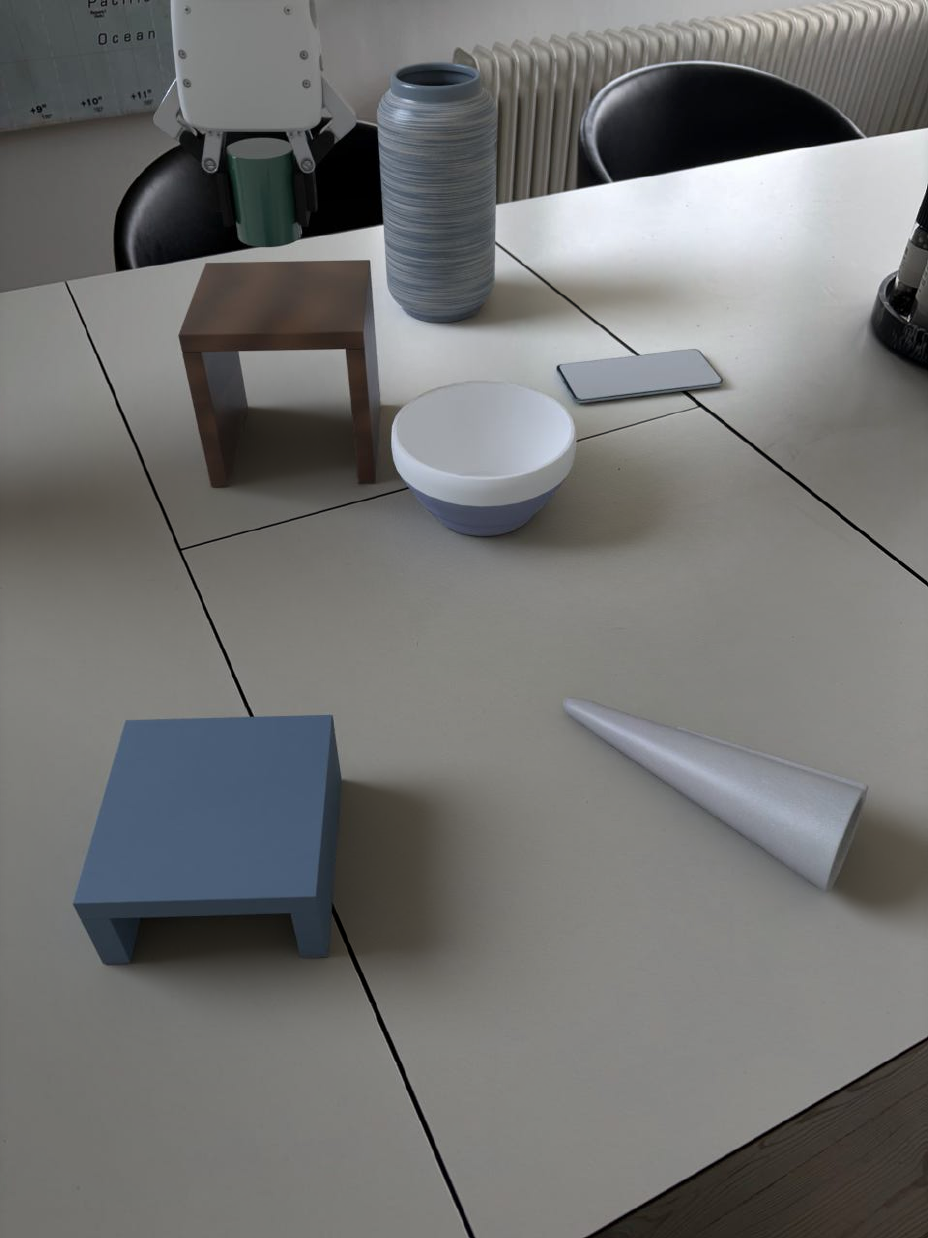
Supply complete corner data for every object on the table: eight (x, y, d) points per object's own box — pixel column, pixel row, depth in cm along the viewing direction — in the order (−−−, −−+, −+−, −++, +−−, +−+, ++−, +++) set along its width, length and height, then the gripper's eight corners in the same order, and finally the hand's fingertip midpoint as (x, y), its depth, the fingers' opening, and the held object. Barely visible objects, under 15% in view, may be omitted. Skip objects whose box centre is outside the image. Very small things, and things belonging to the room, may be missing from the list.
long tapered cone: (520, 714, 61) (839, 840, 52) (571, 661, 65) (873, 768, 56) (519, 784, 64) (820, 914, 55) (568, 729, 68) (854, 841, 59)
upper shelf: (210, 487, 85) (177, 334, 76) (232, 406, 95) (205, 262, 85) (375, 483, 86) (363, 331, 76) (380, 403, 95) (370, 259, 86)
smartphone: (554, 364, 99) (697, 347, 101) (554, 369, 99) (697, 352, 102) (575, 400, 94) (725, 382, 96) (574, 405, 94) (724, 387, 97)
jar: (233, 247, 77) (220, 159, 73) (242, 222, 81) (230, 137, 77) (298, 247, 77) (289, 159, 73) (304, 222, 81) (296, 137, 77)
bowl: (374, 476, 86) (367, 398, 81) (530, 443, 90) (533, 366, 85) (427, 579, 76) (424, 497, 71) (600, 537, 80) (609, 457, 75)
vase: (408, 337, 105) (397, 98, 89) (374, 291, 113) (359, 64, 97) (510, 318, 108) (517, 83, 92) (471, 275, 116) (471, 52, 100)
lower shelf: (102, 964, 53) (71, 903, 49) (148, 784, 62) (125, 719, 58) (328, 957, 54) (316, 896, 50) (341, 778, 62) (332, 714, 58)
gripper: (367, -67, 69) (379, 202, 81) (117, -69, 69) (167, 202, 81) (362, -46, 64) (375, 239, 76) (90, -48, 63) (148, 239, 75)
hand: (267, 217), depth 78 cm, fingers closed on jar, 5 cm apart
